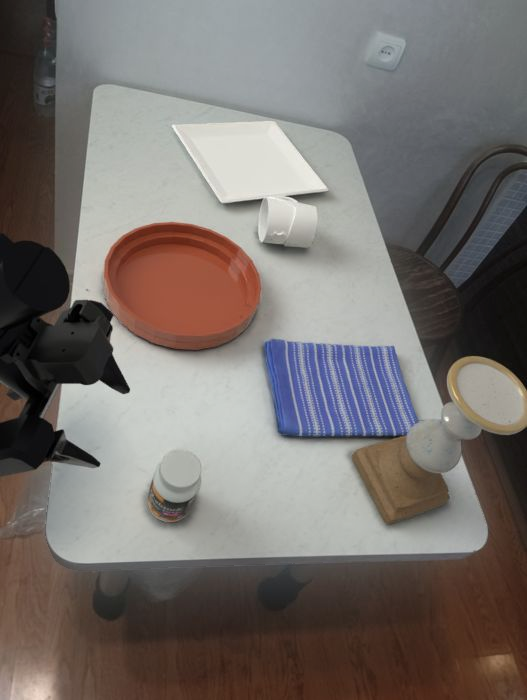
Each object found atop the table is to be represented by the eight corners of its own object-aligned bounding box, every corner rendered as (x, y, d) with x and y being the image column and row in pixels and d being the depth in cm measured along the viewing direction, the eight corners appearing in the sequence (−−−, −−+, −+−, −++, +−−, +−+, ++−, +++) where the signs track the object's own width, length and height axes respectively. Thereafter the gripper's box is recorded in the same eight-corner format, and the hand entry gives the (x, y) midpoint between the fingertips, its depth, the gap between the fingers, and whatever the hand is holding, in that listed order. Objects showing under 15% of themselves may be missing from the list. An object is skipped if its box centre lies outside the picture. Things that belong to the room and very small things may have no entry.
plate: (219, 210, 105) (221, 202, 104) (170, 132, 117) (171, 123, 116) (326, 197, 117) (330, 189, 116) (272, 127, 129) (274, 119, 128)
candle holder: (408, 438, 83) (498, 345, 65) (446, 503, 78) (555, 422, 60) (349, 455, 79) (428, 360, 61) (385, 526, 73) (484, 445, 55)
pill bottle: (139, 513, 66) (146, 479, 59) (158, 473, 70) (167, 437, 62) (182, 530, 66) (194, 499, 59) (199, 489, 70) (212, 455, 62)
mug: (307, 259, 103) (320, 227, 97) (259, 252, 101) (270, 219, 95) (300, 218, 110) (312, 186, 104) (255, 211, 108) (265, 178, 102)
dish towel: (259, 344, 87) (263, 333, 85) (390, 350, 94) (397, 340, 92) (274, 439, 77) (280, 430, 75) (420, 439, 84) (428, 430, 82)
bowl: (99, 347, 79) (100, 330, 76) (107, 232, 94) (107, 214, 91) (264, 355, 86) (270, 340, 83) (246, 246, 101) (251, 230, 98)
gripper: (-6, 402, 38) (141, 502, 47) (91, 237, 50) (193, 342, 59) (-88, 428, 43) (58, 513, 52) (18, 274, 55) (121, 365, 64)
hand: (113, 427), depth 57 cm, fingers open, 9 cm apart
